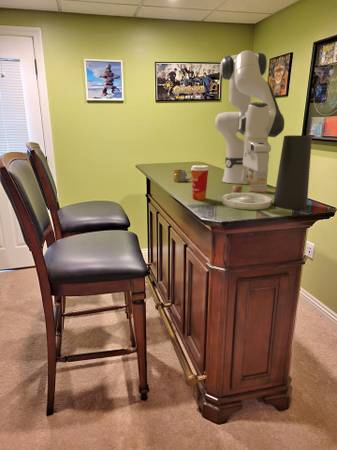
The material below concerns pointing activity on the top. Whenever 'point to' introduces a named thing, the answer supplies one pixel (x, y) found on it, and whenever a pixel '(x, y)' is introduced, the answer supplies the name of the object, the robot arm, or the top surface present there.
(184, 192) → the top surface
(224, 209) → the top surface
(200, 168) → the coffee cup
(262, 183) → the supplement box
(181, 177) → the mug
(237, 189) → the brown egg
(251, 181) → the tan egg
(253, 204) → the tray
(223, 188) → the top surface
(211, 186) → the top surface
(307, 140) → the vase
